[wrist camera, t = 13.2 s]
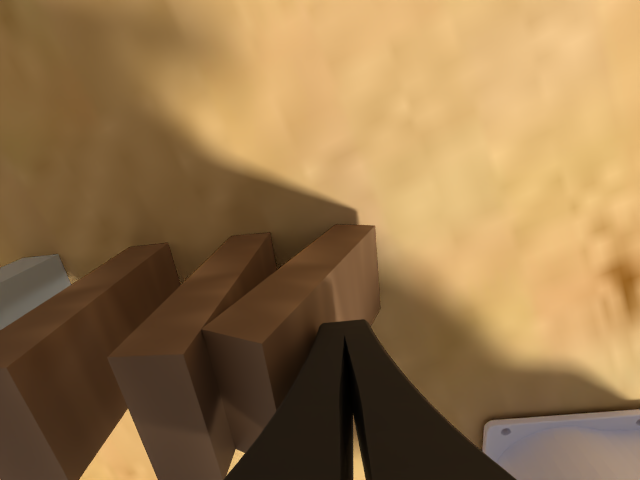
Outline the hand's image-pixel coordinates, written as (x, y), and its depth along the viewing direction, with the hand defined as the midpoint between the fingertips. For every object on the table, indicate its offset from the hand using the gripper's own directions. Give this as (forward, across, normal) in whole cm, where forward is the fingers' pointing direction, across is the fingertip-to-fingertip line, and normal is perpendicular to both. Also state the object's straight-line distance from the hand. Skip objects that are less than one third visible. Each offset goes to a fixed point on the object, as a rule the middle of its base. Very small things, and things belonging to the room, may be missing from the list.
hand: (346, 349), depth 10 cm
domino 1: (+6, -1, 0) cm, 6 cm away
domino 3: (+6, +8, 0) cm, 10 cm away
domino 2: (+6, +4, 0) cm, 7 cm away
